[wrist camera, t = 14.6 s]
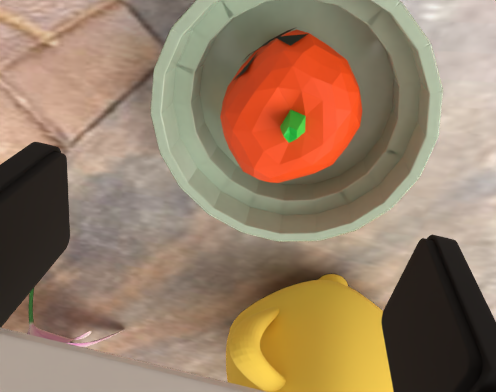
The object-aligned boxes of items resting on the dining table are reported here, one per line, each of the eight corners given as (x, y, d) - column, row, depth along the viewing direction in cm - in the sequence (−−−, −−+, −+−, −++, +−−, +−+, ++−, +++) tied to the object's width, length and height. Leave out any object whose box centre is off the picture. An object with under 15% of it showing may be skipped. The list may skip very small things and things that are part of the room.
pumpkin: (208, 124, 26) (179, 170, 21) (274, 1, 22) (259, 16, 17) (307, 181, 27) (303, 239, 21) (386, 72, 23) (407, 109, 18)
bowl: (194, -67, 22) (163, -72, 18) (464, -7, 21) (500, 3, 17) (169, 171, 29) (142, 208, 25) (370, 220, 29) (379, 267, 24)
